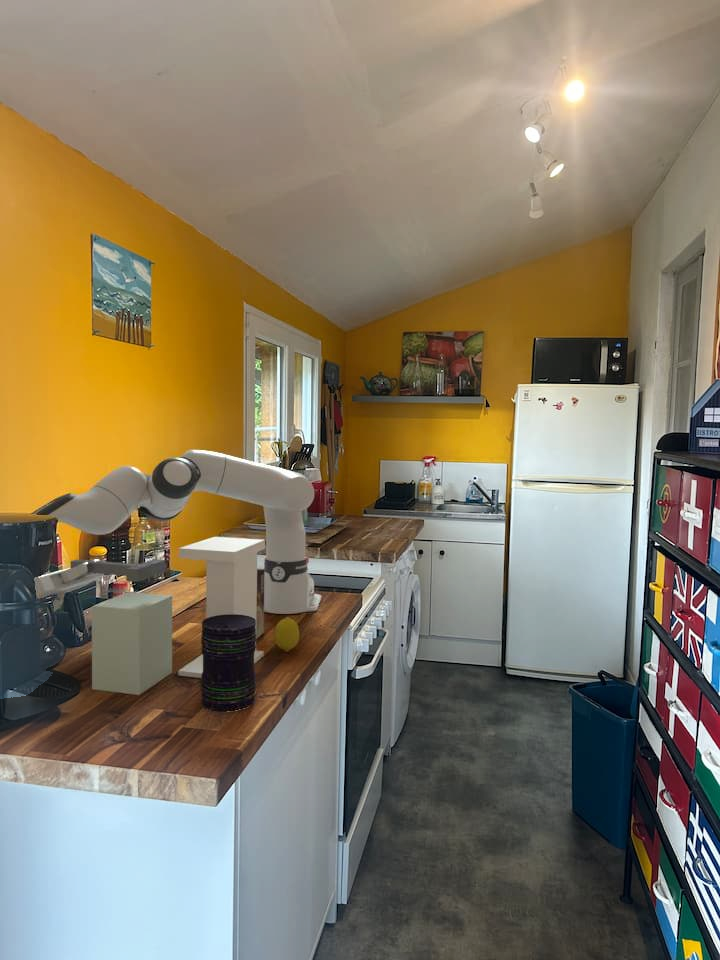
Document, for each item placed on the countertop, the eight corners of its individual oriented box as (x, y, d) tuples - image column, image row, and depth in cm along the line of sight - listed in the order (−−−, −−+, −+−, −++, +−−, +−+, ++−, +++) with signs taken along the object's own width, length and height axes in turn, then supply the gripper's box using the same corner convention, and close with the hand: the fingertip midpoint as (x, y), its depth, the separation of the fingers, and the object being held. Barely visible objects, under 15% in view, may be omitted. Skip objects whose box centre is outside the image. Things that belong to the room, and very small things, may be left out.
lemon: (279, 657, 143) (280, 621, 143) (270, 649, 148) (271, 615, 148) (302, 653, 146) (303, 618, 145) (293, 646, 151) (294, 612, 150)
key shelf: (213, 650, 147) (214, 536, 145) (263, 655, 144) (265, 539, 142) (178, 675, 131) (179, 548, 129) (233, 681, 128) (234, 552, 127)
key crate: (128, 667, 135) (128, 591, 134) (172, 672, 132) (172, 595, 131) (92, 689, 123) (91, 606, 122) (139, 695, 121) (139, 610, 120)
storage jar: (208, 689, 124) (209, 613, 123) (259, 691, 124) (260, 614, 123) (193, 712, 114) (194, 628, 113) (249, 714, 114) (250, 630, 113)
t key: (89, 565, 134) (89, 554, 134) (165, 571, 130) (165, 559, 130) (56, 575, 124) (56, 562, 124) (137, 582, 120) (137, 569, 120)
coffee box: (240, 630, 162) (240, 567, 161) (264, 632, 160) (265, 568, 159) (225, 642, 153) (226, 574, 152) (251, 644, 152) (251, 576, 150)
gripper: (80, 596, 141) (129, 568, 138) (9, 621, 121) (66, 590, 118) (67, 570, 141) (116, 542, 138) (-5, 591, 121) (50, 559, 118)
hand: (92, 564), depth 128 cm, fingers closed on t key, 2 cm apart
